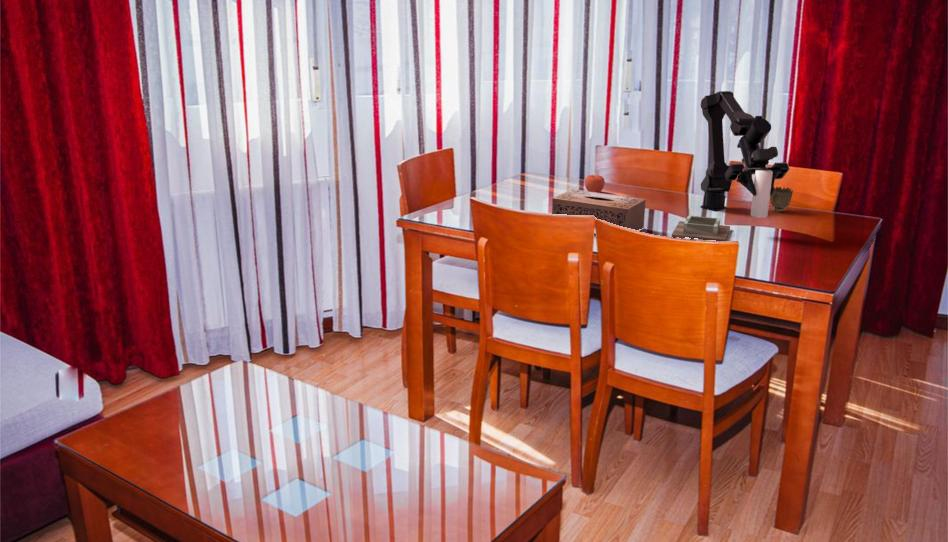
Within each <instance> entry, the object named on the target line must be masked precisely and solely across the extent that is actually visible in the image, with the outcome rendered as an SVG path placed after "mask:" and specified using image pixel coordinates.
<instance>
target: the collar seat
mask: <svg viewBox="0 0 948 542" xmlns="http://www.w3.org/2000/svg"><path fill="white" fill-rule="evenodd" d="M730 229H731V225H722V224H721V218H718V217H709V216H708V217H707V216H698V215H690V214H688V215H687V217H686V219H685V220H684V221H680V220H679V222H678V223H677V225H676V226H675V228H674V229H673V232H671V238H672V237H679V238H685V237H689V238H691V239H694V238H698V239H703V240H716V241H727V239H726V238H728V235H729V233H730V231H729V230H730Z"/></svg>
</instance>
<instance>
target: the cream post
mask: <svg viewBox="0 0 948 542" xmlns="http://www.w3.org/2000/svg"><path fill="white" fill-rule="evenodd" d="M772 174H773V172H772V171H770V170H756V171H755V174H754V179H753V183H754V186H755V189H756V195H755V196H754V195H753V194H752V196H751V197H752V198H751V207H750V216H751V217H753V218H758V219H764V218H765V219H766V218H767V217H768V214H769V206H770V205H769V204H770V190H771V182H772Z"/></svg>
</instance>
